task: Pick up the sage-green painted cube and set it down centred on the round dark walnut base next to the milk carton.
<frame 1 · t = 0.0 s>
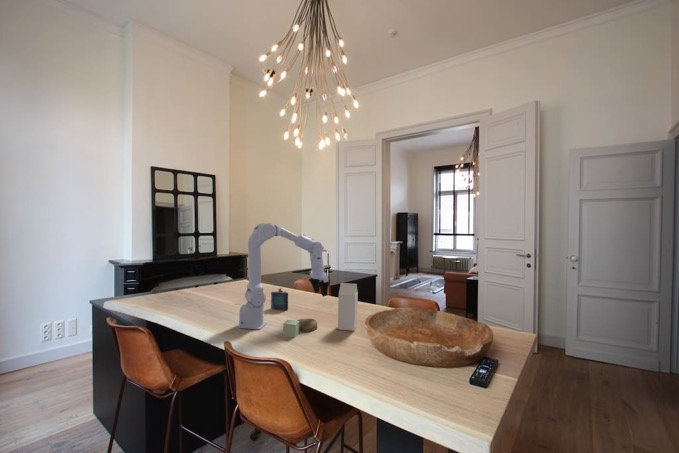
hand: (320, 294, 148), 11 cm above the counter, tool pointing down, fingers open, 7 cm apart
cube: (291, 334, 123), on the counter
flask: (279, 309, 158), on the counter
milk carton: (347, 328, 132), on the counter
base: (306, 327, 131), on the counter
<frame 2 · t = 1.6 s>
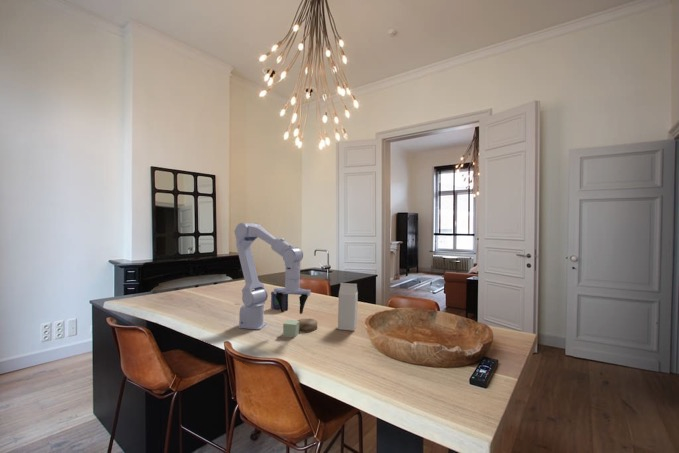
hand: (291, 312, 123), 9 cm above the counter, tool pointing down, fingers open, 7 cm apart
nothing on the counter moved.
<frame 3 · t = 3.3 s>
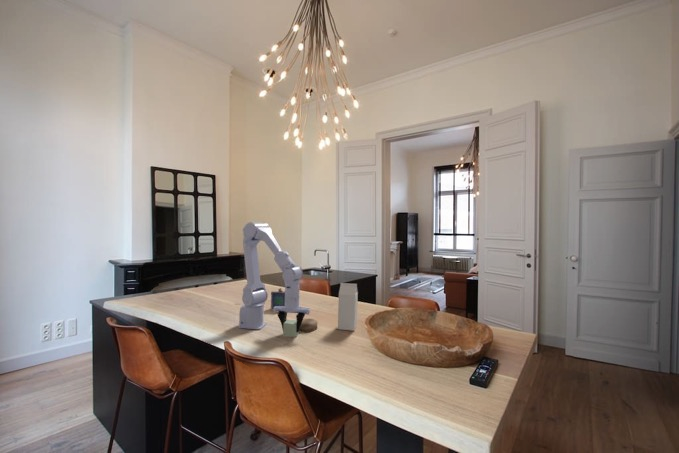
hand: (291, 330, 123), 1 cm above the counter, tool pointing down, fingers closed on cube, 5 cm apart
cube: (291, 334, 123), on the counter, touching gripper
everything else where it was.
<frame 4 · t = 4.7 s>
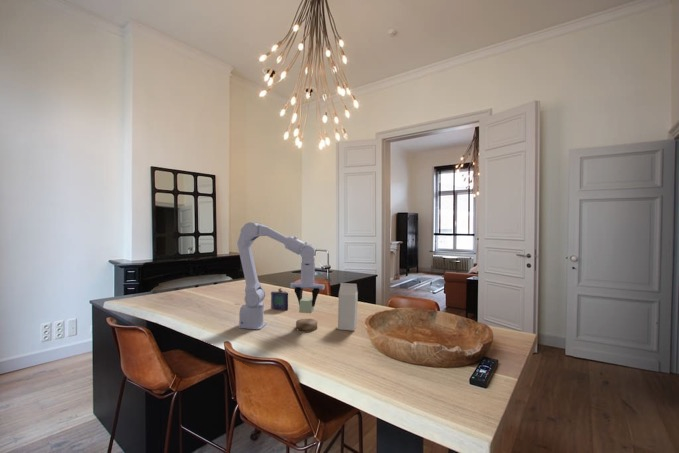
hand: (306, 305, 131), 9 cm above the counter, tool pointing down, fingers closed on cube, 5 cm apart
cube: (306, 311, 130), point 7 cm above the counter, touching gripper
everything else where it was.
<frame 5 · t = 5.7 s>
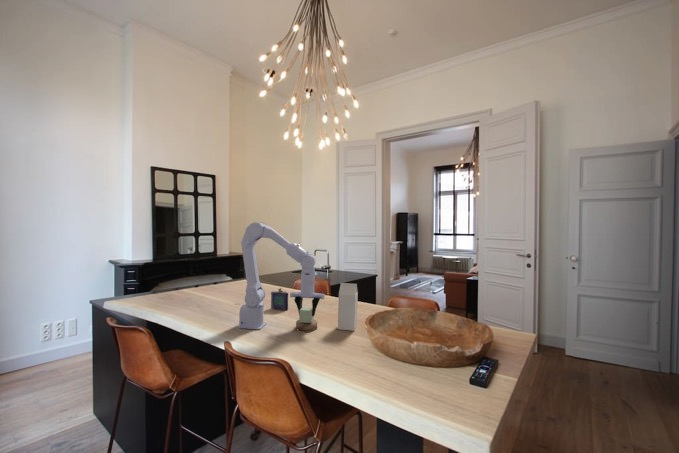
hand: (306, 315, 131), 5 cm above the counter, tool pointing down, fingers closed on cube, 5 cm apart
cube: (306, 320, 131), point 3 cm above the counter, touching gripper
everything else where it was.
when the fingers open (5 cm above the counter, at t = 6.4 s): cube stays where it is, resting on base.
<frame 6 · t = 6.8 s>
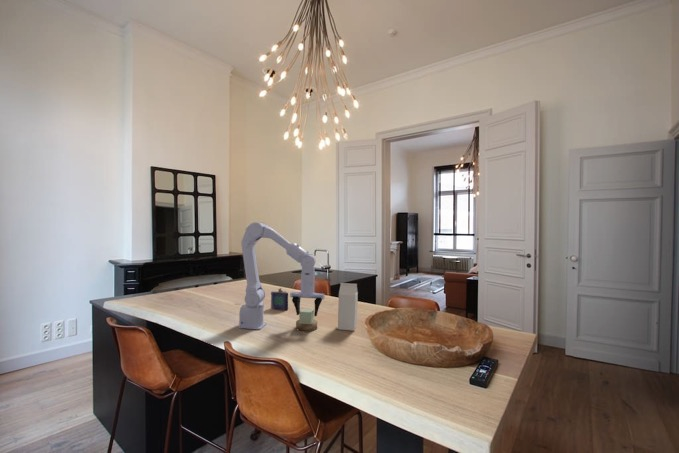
hand: (306, 315, 131), 5 cm above the counter, tool pointing down, fingers open, 7 cm apart
cube: (306, 322, 131), point 2 cm above the counter, touching base
everything else where it was.
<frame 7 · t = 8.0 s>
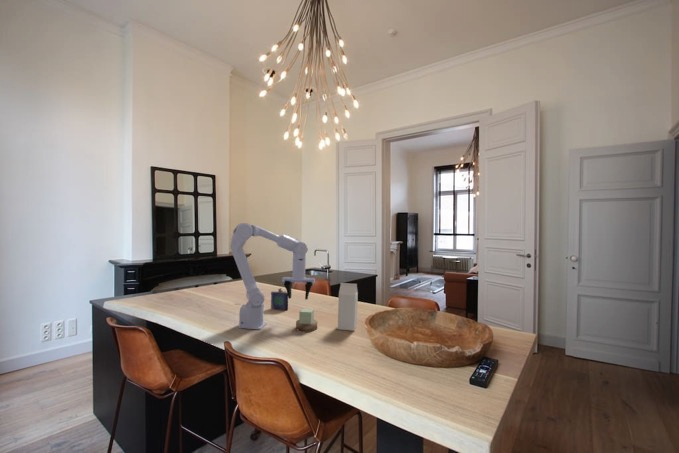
hand: (298, 298, 139), 10 cm above the counter, tool pointing down, fingers open, 7 cm apart
nothing on the counter moved.
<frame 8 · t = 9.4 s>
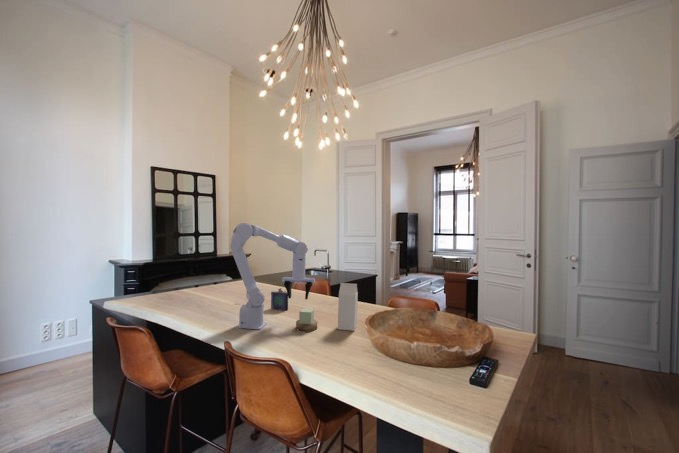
hand: (298, 298, 139), 10 cm above the counter, tool pointing down, fingers open, 7 cm apart
nothing on the counter moved.
at the end: cube 0.4 cm off-centre on the base, point 2.5 cm above the base's base; cube tilted 0°; the gripper is holding nothing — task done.
